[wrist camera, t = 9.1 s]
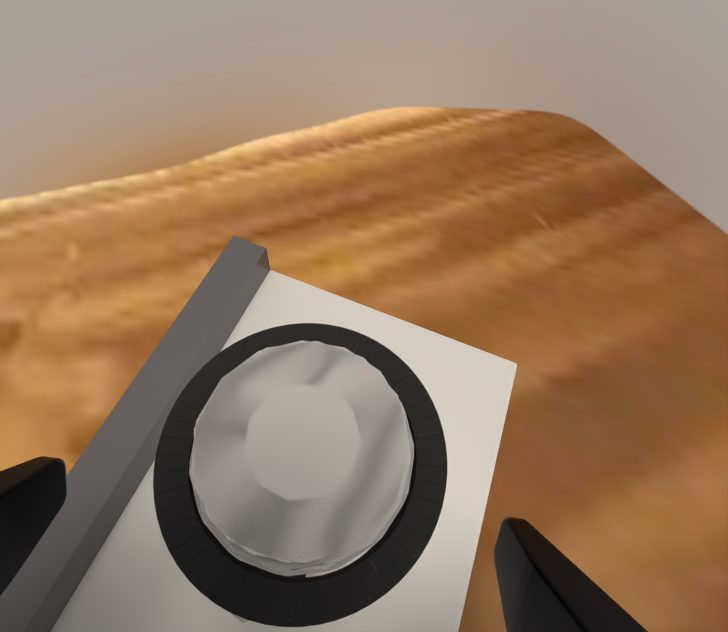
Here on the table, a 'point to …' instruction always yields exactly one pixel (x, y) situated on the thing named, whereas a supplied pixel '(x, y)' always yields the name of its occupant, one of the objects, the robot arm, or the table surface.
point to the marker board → (138, 451)
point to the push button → (300, 475)
